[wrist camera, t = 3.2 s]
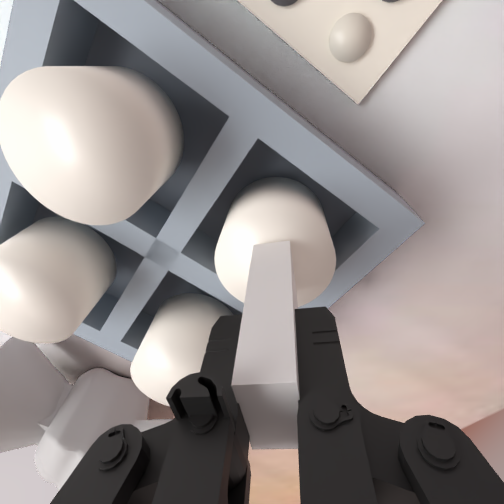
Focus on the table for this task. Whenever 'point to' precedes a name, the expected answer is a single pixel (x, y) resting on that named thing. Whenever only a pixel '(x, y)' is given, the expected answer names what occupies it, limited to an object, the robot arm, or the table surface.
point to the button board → (194, 163)
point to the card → (345, 34)
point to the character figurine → (61, 409)
